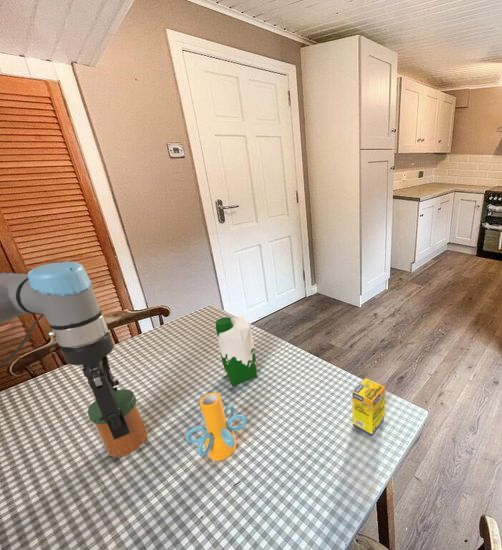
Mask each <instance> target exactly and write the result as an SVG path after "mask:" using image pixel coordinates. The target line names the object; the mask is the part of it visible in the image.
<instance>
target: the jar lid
mask: <svg viewBox="0 0 502 550" xmlns="http://www.w3.org/2000/svg"><path fill="white" fill-rule="evenodd" d="M113 393H114V395H115V398H116V401H117V404H118V407H119V408H120V409H121V411H122V414H123V416H125V415H126V414H128V413H129V412H130V411H131V410H132V409H133V408H134V406H135V405H137V397H136V395H135V393H134V392H133V391H132V390H131V389H127V388H125V389H124V388H123V389H118V390H117V391H113ZM87 414H88V419H89V420H90V421H91V423H93V424H94V423H95V424H107V422H105V421H104V420H101V421H100V417H102V413H101V411H100V408H99V406H98V403H97V401H96V400H95V401H93V402H92V403H91V404H90V405H89V406H88V409H87Z"/></svg>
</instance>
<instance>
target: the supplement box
mask: <svg viewBox="0 0 502 550" xmlns="http://www.w3.org/2000/svg"><path fill="white" fill-rule="evenodd" d="M351 393H352V394H351V395H352V397H351V398H352V399H351V400H352V426H353V427H355V428H356V429H358V430H360V431H362V432H364V433H365V434H367V435H368V436H371V437H374V436H373V435H374V434H375V433H376V431H377V430H378V428H380V426H381V425H382V424H383V422H384V420H385V402H386V401H385V400H386V399H385V397H386V386H384V385H382V384H380V383H377V382H375V381H374V380H371V379H369V378H364V379H363V380H362V382H361V383H359V385H358V386H357V387H355V389H353V390H352V392H351Z"/></svg>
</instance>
